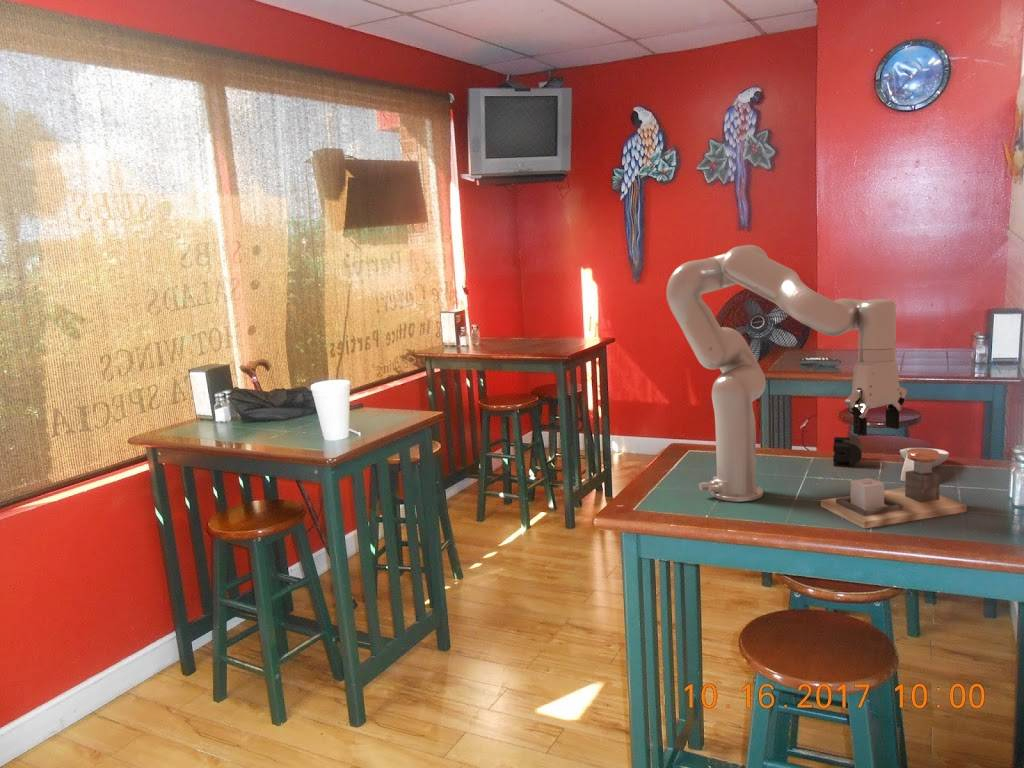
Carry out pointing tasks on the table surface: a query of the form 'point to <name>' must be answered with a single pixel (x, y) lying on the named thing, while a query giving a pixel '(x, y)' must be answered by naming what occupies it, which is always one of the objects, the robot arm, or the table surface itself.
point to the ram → (923, 460)
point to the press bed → (900, 503)
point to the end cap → (846, 451)
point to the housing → (867, 493)
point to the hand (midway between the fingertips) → (876, 431)
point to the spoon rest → (910, 464)
